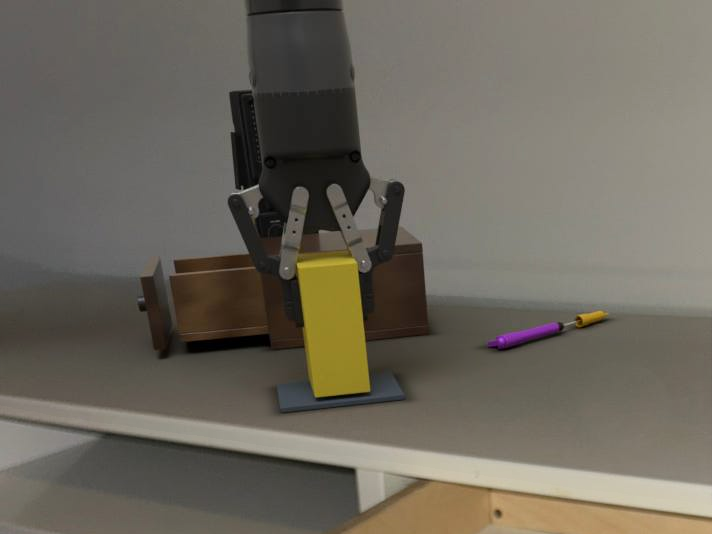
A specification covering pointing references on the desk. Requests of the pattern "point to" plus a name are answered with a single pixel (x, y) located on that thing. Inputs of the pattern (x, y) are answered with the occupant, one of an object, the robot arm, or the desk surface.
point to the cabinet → (390, 285)
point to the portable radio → (251, 160)
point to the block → (333, 323)
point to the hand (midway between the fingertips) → (331, 321)
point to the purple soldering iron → (544, 330)
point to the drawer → (204, 298)
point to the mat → (303, 398)
